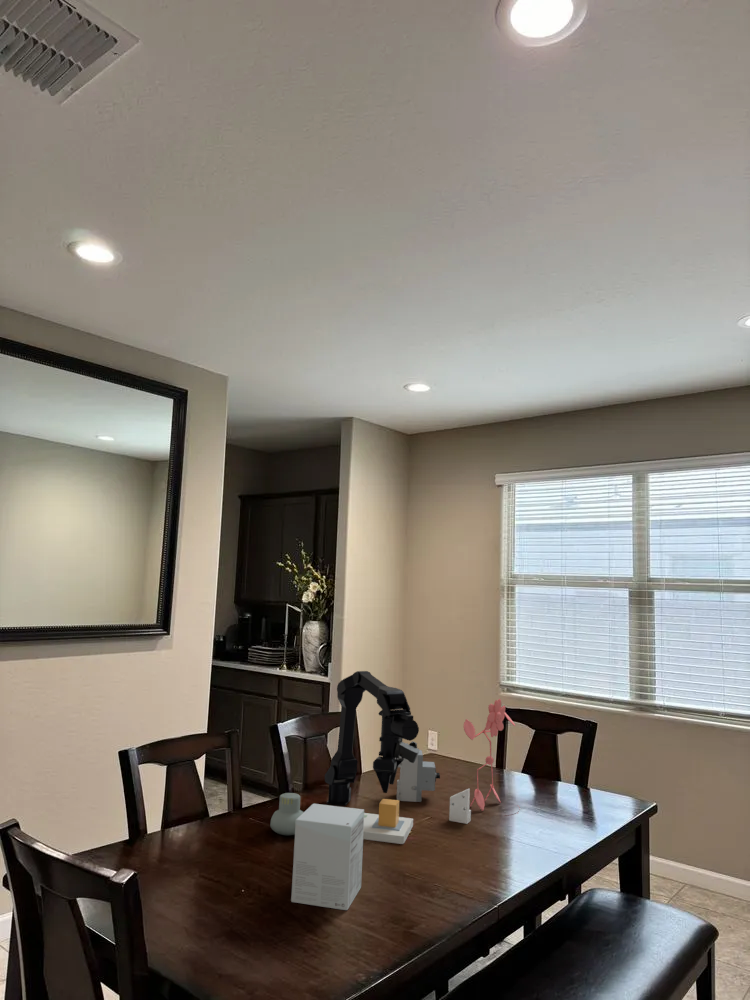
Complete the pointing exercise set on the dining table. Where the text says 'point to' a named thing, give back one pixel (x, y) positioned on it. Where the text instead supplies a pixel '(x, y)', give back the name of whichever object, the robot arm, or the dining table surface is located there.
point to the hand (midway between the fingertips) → (388, 788)
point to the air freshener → (286, 814)
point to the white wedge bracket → (460, 807)
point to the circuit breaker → (415, 778)
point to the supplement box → (328, 856)
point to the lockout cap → (388, 813)
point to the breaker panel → (386, 829)
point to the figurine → (494, 725)
